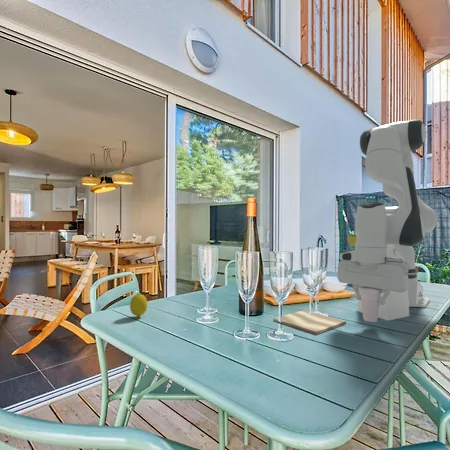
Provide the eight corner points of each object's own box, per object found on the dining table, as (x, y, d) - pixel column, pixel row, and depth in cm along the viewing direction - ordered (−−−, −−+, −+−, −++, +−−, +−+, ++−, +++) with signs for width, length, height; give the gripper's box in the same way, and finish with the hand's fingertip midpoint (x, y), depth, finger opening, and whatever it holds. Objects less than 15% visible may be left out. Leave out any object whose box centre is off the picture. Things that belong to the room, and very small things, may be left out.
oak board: (304, 312, 110) (304, 309, 110) (346, 323, 97) (346, 321, 97) (273, 320, 100) (273, 318, 100) (316, 334, 87) (316, 331, 87)
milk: (357, 311, 112) (357, 239, 112) (378, 307, 117) (378, 239, 117) (387, 320, 101) (388, 241, 101) (409, 316, 106) (410, 240, 106)
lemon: (142, 320, 99) (142, 295, 99) (126, 319, 100) (126, 294, 100) (150, 315, 104) (150, 291, 104) (135, 314, 105) (135, 290, 105)
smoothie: (369, 324, 89) (369, 276, 89) (354, 317, 95) (354, 272, 95) (387, 322, 91) (387, 275, 90) (371, 315, 97) (371, 271, 96)
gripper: (413, 258, 86) (412, 307, 87) (345, 252, 102) (345, 294, 103) (403, 260, 82) (403, 311, 83) (334, 254, 98) (334, 297, 99)
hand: (370, 301), depth 93 cm, fingers closed on smoothie, 5 cm apart
